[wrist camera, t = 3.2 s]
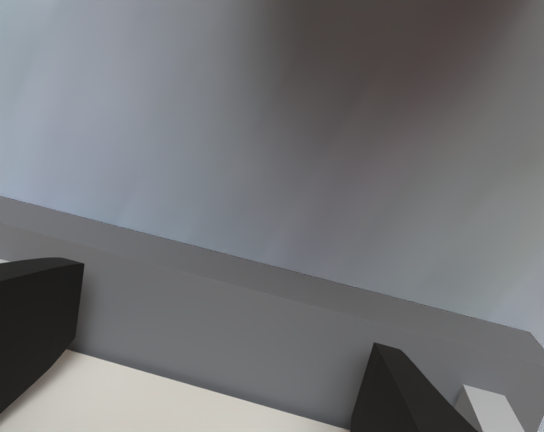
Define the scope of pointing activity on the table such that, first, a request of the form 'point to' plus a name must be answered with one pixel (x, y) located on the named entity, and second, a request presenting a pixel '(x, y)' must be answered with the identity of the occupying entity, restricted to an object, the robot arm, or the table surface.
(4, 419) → the breaker toggle
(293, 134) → the table surface
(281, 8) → the table surface
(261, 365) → the grey shallow rectangular tray
